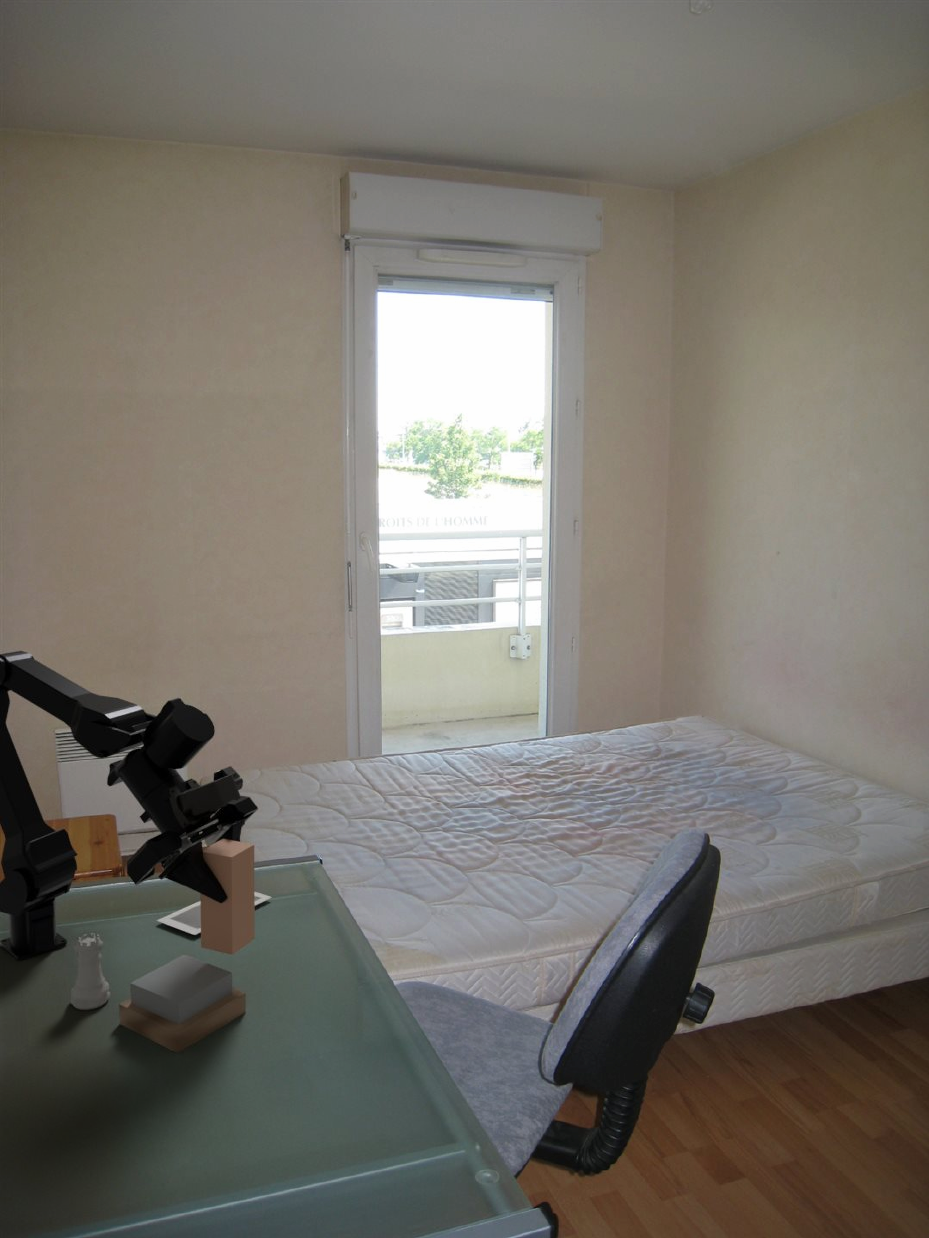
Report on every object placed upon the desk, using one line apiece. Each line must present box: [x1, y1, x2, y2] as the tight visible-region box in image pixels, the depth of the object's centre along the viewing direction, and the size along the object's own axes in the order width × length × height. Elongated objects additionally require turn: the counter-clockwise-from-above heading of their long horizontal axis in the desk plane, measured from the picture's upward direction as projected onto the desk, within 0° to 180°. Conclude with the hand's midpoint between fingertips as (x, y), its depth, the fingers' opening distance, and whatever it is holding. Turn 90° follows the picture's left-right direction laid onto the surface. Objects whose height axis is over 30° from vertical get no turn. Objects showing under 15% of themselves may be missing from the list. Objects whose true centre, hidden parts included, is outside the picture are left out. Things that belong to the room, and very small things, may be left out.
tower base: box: [118, 986, 247, 1054], centre depth 108 cm, size 10×10×3 cm
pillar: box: [199, 839, 256, 956], centre depth 112 cm, size 4×4×12 cm
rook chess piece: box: [70, 933, 111, 1011], centre depth 111 cm, size 4×4×8 cm
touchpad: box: [156, 891, 272, 936], centre depth 136 cm, size 8×15×2 cm, turn 148°
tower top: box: [130, 954, 233, 1025], centre depth 108 cm, size 8×8×2 cm
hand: (237, 892), depth 111 cm, fingers closed on pillar, 4 cm apart
